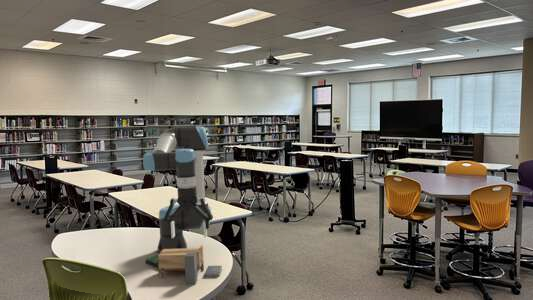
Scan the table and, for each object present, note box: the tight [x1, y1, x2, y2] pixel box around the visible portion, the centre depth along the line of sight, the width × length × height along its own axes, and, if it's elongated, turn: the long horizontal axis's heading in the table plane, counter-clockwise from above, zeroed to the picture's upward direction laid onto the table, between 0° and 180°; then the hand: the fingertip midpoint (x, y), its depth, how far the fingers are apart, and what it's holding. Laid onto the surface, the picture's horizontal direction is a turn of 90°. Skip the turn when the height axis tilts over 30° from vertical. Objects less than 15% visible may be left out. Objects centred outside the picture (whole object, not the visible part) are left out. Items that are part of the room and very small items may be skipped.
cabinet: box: [157, 245, 205, 279], centre depth 173 cm, size 8×18×11 cm, turn 88°
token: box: [205, 265, 223, 278], centre depth 172 cm, size 6×6×3 cm
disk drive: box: [145, 254, 164, 271], centre depth 186 cm, size 10×3×15 cm
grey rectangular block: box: [184, 253, 202, 285], centre depth 167 cm, size 13×4×12 cm, turn 178°
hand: (189, 236), depth 162 cm, fingers open, 13 cm apart
